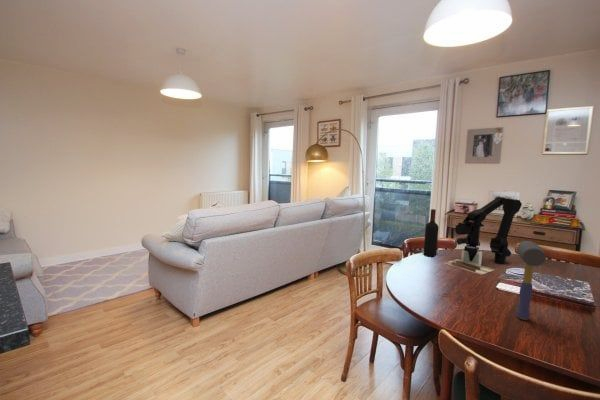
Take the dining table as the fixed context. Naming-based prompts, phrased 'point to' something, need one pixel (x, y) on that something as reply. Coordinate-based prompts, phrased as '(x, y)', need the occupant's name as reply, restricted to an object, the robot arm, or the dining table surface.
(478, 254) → the white block
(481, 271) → the display stand
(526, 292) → the rubber mallet
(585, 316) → the dining table surface
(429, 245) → the wine bottle
